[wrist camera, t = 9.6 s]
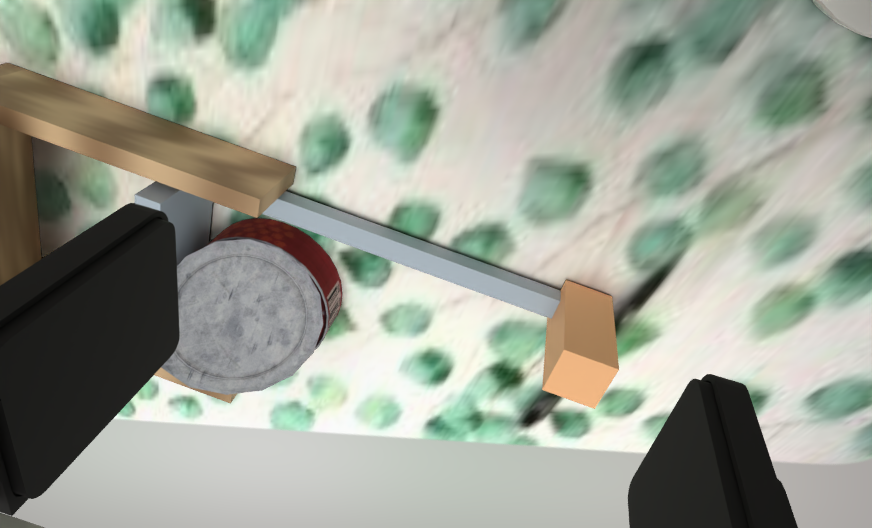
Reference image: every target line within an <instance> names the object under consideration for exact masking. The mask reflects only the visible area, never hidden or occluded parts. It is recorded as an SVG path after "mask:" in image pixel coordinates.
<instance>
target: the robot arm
mask: <svg viewBox="0 0 872 528" xmlns="http://www.w3.org/2000/svg"><path fill="white" fill-rule="evenodd" d="M812 1H813V2H814V4H815V5H816V6H817V8H819V9H820V10H821V11H822V12H824V13H825V14H826V15H827V16H828V17H830V18H831V19H832V20H833V21H834V22H836V23H837V24H839V25H841V26H843V27H845V28H847V29H849V30H851V31H853V32H855V33H858V34H860V35H863V36H866V37H869V38H872V0H812ZM179 337H180V331H179V307H178V282H177V258H176V233H175V227H174V225H173V224H172V223H171V222H169V221H168V217H167V215H166V214H165V213H164V212H162V211H159V210H156V209H152V208H149V207H146V206H142V205H139V204H136V203H130V204H127V205H125V206H124V207H122V208H120V209H119V210H117V211H116V212H114V213H113V214H111V215H110V216H108V217H106V218H105V219H103V220H102V221H100V222H99V223H97V224H96V225H94V226H92V227H91V228H89V229H88V230H86V231H85V232H83V233H81V234H80V235H78V236H77V237H75V238H74V239H72V240H71V241H69V242H67V243H66V244H64V245H63V246H61V247H60V248H58V249H57V250H55V251H53V252H52V253H50V254H49V255H47V256H46V257H44V258H43V259H41V260H39V261H38V262H36V263H35V264H33V265H32V266H30V267H28V268H27V269H25V270H24V271H22V272H21V273H19V274H18V275H16V276H14V277H13V278H11V279H10V280H8V281H7V282H5V283H4V284H2V285H0V512H2V513H5V514H8V515H11V516H8V515H5V514H2V513H0V528H44V527H41V526H38V525H35V524H32V523H30V522H26V521H24V520H20V519H18V518H15V517H12V515H13V514H14V513H15V512H16V511H17V510H18V509H19V508H20V507H21V506H22V505H23V504H24V503H25V501H27V500H28V498H31V499H34V498H37V497H38V496H40V495H42V494H43V493H44V492H45V491H46V490H47V489H48V488H49V487H50V486H51V485H52V483H53V482H54V481H55V480H56V479H57V478H58V477H59V476H60V475H61V474H62V473H63V472H64V471H65V470H66V469H67V467H68V466H69V465H70V464H71V463H72V462H73V461H74V460H75V459H76V458H77V456H79V455H80V454H81V452H82V451H83V450H84V449H85V448H86V447H87V446H88V445H89V444H90V443H91V442H92V441H93V440H94V439H95V437H96V436H97V435H98V434H99V433H100V432H101V431H102V430H103V429H104V428H105V427H106V426H107V425H108V423H109V422H110V421H111V420H112V419H113V418H114V417H115V416H116V415H117V414H118V413H119V412H120V411H121V410H122V408H123V407H124V406H125V405H126V404H127V403H128V402H129V401H130V400H131V399H132V398H133V397H134V396H135V395H136V393H137V392H138V391H139V390H140V389H141V388H142V387H143V386H144V385H145V384H146V383H147V382H148V381H149V380H150V378H151V377H152V376H153V375H154V374H155V373H156V372H157V371H158V370H159V369H160V368H161V367H162V366H163V364H164V363H165V362H166V361H167V360H168V359H169V358H170V357H171V356H172V355H173V353H174V352H175V350H176V348H177V346H178V343H179ZM628 508H629V524H630V528H798V527H797V524H796V521H795V518H794V515H793V512H792V509H791V506H790V503H789V500H788V497H787V494H786V491H785V489H784V487H783V485H782V483H781V482H780V481H779V480H778V479H777V477H776V474H775V471H774V468H773V466H772V462H771V459H770V456H769V453H768V450H767V447H766V444H765V441H764V438H763V435H762V432H761V429H760V426H759V423H758V420H757V416H756V413H755V410H754V407H753V404H752V401H751V398H750V395H749V392H748V390H747V388H746V386H745V385H744V384H742V383H739V382H735V381H732V380H728V379H725V378H722V377H718V376H715V375H712V374H707V375H706V376H704V377H703V378H702V380H698V379H692V380H691V381H690V382H689V384H688V385H687V387H686V389H685V390H684V392H683V394H682V395H681V397H680V399H679V400H678V402H677V404H676V406H675V407H674V409H673V411H672V412H671V414H670V416H669V417H668V419H667V421H666V422H665V424H664V426H663V428H662V429H661V431H660V433H659V434H658V436H657V438H656V439H655V441H654V443H653V444H652V446H651V448H650V450H649V451H648V453H647V455H646V457H645V458H644V460H643V461H642V463H641V465H640V467H639V468H638V470H637V472H636V473H635V475H634V477H633V479H632V481H631V484H630V488H629V493H628Z"/></svg>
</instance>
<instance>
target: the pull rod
mask: <svg viewBox="0 0 872 528" xmlns="http://www.w3.org/2000/svg"><path fill="white" fill-rule="evenodd" d="M135 203H136V204H139V205H142V206H146V207H149V208H152V209H156V210H159V211H162V212H164V213H165V214H166V215H167V217H168V221H169V222H171V223H172V224H173V225H174V227H175V233H176V258H177V266H178V265H179V264H180V263H181V261H182V260H183V259H184V258H185V257H186V256H188V255H190V254H192V253H194V252H196V251H198V250H200V249H202V248H204V247H205V246H207V245H208V244H209V235H210V225H211V214H212V204H213V202H212V201H209V200H206V199H204V198H201V197H198V196H195V195H193V194H190V193H187V192H184V191H182V190H179V189H176V188H173V187H171V186H168V185H165V184H162V183H160V182H157V181H156V182H154V183H152V184H151V185H149V186H148V187H146V188H145V189H143V190H141V191H140V192H138V193H137V194H135ZM262 214H265V215H267V216H270V217H273V218H276V219H278V220H281V221H284V222H287V223H289V224H292V225H295V226H298V227H300V228H303V229H306V230H309V231H311V232H314V233H317V234H320V235H322V236H325V237H328V238H331V239H333V240H336V241H339V242H342V243H344V244H347V245H350V246H353V247H355V248H358V249H361V250H364V251H366V252H369V253H372V254H375V255H377V256H380V257H383V258H386V259H388V260H391V261H394V262H397V263H399V264H402V265H405V266H408V267H410V268H413V269H416V270H419V271H421V272H424V273H427V274H430V275H432V276H435V277H438V278H441V279H443V280H446V281H449V282H452V283H454V284H457V285H460V286H463V287H465V288H468V289H471V290H474V291H476V292H479V293H482V294H485V295H487V296H490V297H493V298H496V299H498V300H501V301H504V302H507V303H509V304H512V305H515V306H518V307H520V308H523V309H526V310H529V311H531V312H534V313H537V314H540V315H542V316H545V317H547V331H546V345H545V359H544V373H543V388H542V390H545V391H547V392H550V393H553V394H556V395H558V396H561V397H564V398H566V399H569V400H572V401H575V402H577V403H580V404H583V405H586V406H588V407H591V408H594V409H595V407H596V406H597V404H598V402H599V401H600V399H601V398H602V396H603V394H604V393H605V391H606V390H607V388H608V386H609V385H610V383H611V382H612V380H613V378H614V377H615V375H616V374H617V372H618V370H619V365H618V354H617V344H616V333H615V323H614V312H613V301H612V296H609V295H606V294H604V293H601V292H598V291H595V290H593V289H590V288H587V287H584V286H582V285H579V284H576V283H573V282H570V281H568V280H566V281H565V283H564V285H563V287H562V289H561V291H560V290H557V289H554V288H552V287H549V286H546V285H543V284H541V283H538V282H535V281H532V280H530V279H527V278H524V277H521V276H519V275H516V274H513V273H510V272H507V271H505V270H502V269H499V268H496V267H494V266H491V265H488V264H485V263H483V262H480V261H477V260H474V259H472V258H469V257H466V256H463V255H461V254H458V253H455V252H452V251H450V250H447V249H444V248H441V247H438V246H436V245H433V244H430V243H427V242H425V241H422V240H419V239H416V238H414V237H411V236H408V235H405V234H403V233H400V232H397V231H394V230H392V229H389V228H386V227H383V226H381V225H378V224H375V223H372V222H369V221H367V220H364V219H361V218H358V217H356V216H353V215H350V214H347V213H345V212H342V211H339V210H336V209H334V208H331V207H328V206H325V205H323V204H320V203H317V202H314V201H311V200H309V199H306V198H303V197H300V196H298V195H295V194H292V193H289V192H287V191H285V192H284V193H283V194H282V195H281V196H280V197H279V198H278V199H277V200H276V201H275V202H274V203H273V204H271V205H270V206H269V207H268V208H267V209H266V210H265V211H264V212H263V213H262Z"/></svg>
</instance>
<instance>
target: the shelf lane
mask: <svg viewBox="0 0 872 528" xmlns="http://www.w3.org/2000/svg"><path fill="white" fill-rule="evenodd" d="M31 136H33V137H36V138H39V139H41V140H44V141H47V142H50V143H52V144H55V145H58V146H61V147H63V148H66V149H69V150H72V151H74V152H77V153H80V154H83V155H85V156H88V157H91V158H94V159H96V160H99V161H102V162H105V163H107V164H110V165H113V166H116V167H118V168H121V169H124V170H127V171H129V172H132V173H135V174H138V175H140V176H143V177H146V178H149V179H151V180H154V181H157V182H160V183H162V184H165V185H168V186H171V187H173V188H176V189H179V190H182V191H184V192H187V193H190V194H193V195H195V196H198V197H201V198H204V199H206V200H209V201H212V202H215V203H217V204H220V205H223V206H226V207H228V208H231V209H234V210H237V211H239V212H242V213H245V214H248V215H250V216H253V217H256V218H258V217H259V216H260V215H261V214H262V213H263V212H264V211H265V210H266V209H267V208H268V207H269V206H270V205H271V204H273V203H274V202H275V201H276V200H277V199H278V198H279V197H280V196H281V195H282V194H283V193H284V192H285V191H286V190H287V189H288V188H289V187H290V186H291V185H293V182H294V176H295V170H296V167H295V166H292V165H289V164H286V163H284V162H281V161H278V160H275V159H273V158H270V157H267V156H264V155H262V154H259V153H256V152H253V151H251V150H248V149H245V148H242V147H239V146H237V145H234V144H231V143H228V142H226V141H223V140H220V139H217V138H215V137H212V136H209V135H206V134H203V133H201V132H198V131H195V130H192V129H190V128H187V127H184V126H181V125H179V124H176V123H173V122H170V121H167V120H165V119H162V118H159V117H156V116H154V115H151V114H148V113H145V112H143V111H140V110H137V109H134V108H131V107H129V106H126V105H123V104H120V103H118V102H115V101H112V100H109V99H107V98H104V97H101V96H98V95H95V94H93V93H90V92H87V91H84V90H82V89H79V88H76V87H73V86H71V85H68V84H65V83H62V82H59V81H57V80H54V79H51V78H48V77H46V76H43V75H40V74H37V73H35V72H32V71H29V70H26V69H24V68H21V67H18V66H15V65H12V64H10V63H5V64H1V65H0V285H2V284H4V283H5V282H7V281H8V280H10V279H11V278H13V277H14V276H16V275H18V274H19V273H21V272H22V271H24V270H25V269H27V268H28V267H30V266H32V265H33V264H35V263H36V262H38V261H39V260H41V259H42V257H41V245H40V233H39V221H38V210H37V198H36V186H35V174H34V162H33V150H32V139H31ZM154 375H155V376H158V377H161V378H163V379H166V380H169V381H172V382H174V383H177V384H180V385H182V386H185V387H188V388H190V389H193V390H196V391H199V392H201V393H204V394H207V395H209V396H212V397H215V398H217V399H220V400H223V401H226V402H228V403H231V402H232V400H233V399H234V398H235V396H236V395H237V393H236V394H229V395H225V394H220V393H216V392H211V391H206V390H201V389H196V388H191V387H189V386H187V385H186V384H184V383H183V382H181V381H180V380H178V379H177V378H175V377H174V376H172V375H171V374H170V373H168V372H167V371H166V370H164V369H163V368H160V369H159V370H158V371H157V372H156V373H155V374H154Z"/></svg>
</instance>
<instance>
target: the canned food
mask: <svg viewBox="0 0 872 528" xmlns="http://www.w3.org/2000/svg"><path fill="white" fill-rule="evenodd" d="M177 282H178V307H179V331H180V337H179V343H178V346H177V348H176V350H175V352H174V353H173V355H172V356H171V357H170V358H169V359H168V360H167V361H166V362H165V363H164V364H163V366H162V367H161V368H163V369H164V370H166V371H167V372H168V373H170V374H171V375H172V376H174V377H175V378H177V379H178V380H180V381H181V382H183V383H184V384H186V385H187V386H189V387H191V388H196V389H201V390H206V391H211V392H216V393H220V394H225V395H229V394H236V393H243V392H251V391H260V390H264V389H266V388H268V387H270V386H272V385H274V384H275V383H277V382H279V381H282V380H284V379H286V378H288V377H290V376H292V375H293V374H294V373H295V372H296V371H297V370H298V369H299V368H300V367H301V365H302V364H303V363H304V362H305V361H306V360H307V359H308V358H309V357H310V356H311V355H312V354H313V353H314V350H315V349H317V348H318V347H319V345H320V344H321V342H322V341H323V339H324V337H325V335H326V333H327V332H328V330H329V328H330V327H331V325H332V323H333V322H334V320H335V318H336V316H337V315H338V312H339V310H340V307H341V303H342V286H341V280H340V277H339V274H338V272H337V269H336V267H335V265H334V264H333V262H332V260H331V258H330V257H329V255H328V254H327V253H326V252H325V251H324V249H323V248H322V247H321V246H320V245H319V244H318V243H317V242H316V241H315V240H313V239H312V238H311V237H310V236H309V235H307V234H305V233H304V232H302V231H301V230H299V229H298V228H295V227H293V226H291V225H289V224H286V223H284V222H280V221H276V220H272V219H262V218H253V219H246V220H242V221H239V222H237V223H234V224H232V225H230V226H229V227H227V228H226V229H225V230H223V231H222V232H221V233H220V234H219V235H218V236H217V237H215V238H214V239H213V240H212V241H211V242H210V243H209V244H208V245H207V246H205V247H204V248H202V249H200V250H198V251H196V252H194V253H192V254H190V255H188V256H186V257H185V258H184V259H183V260H182V261H181V263H180V264H179V265H178V266H177Z"/></svg>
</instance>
